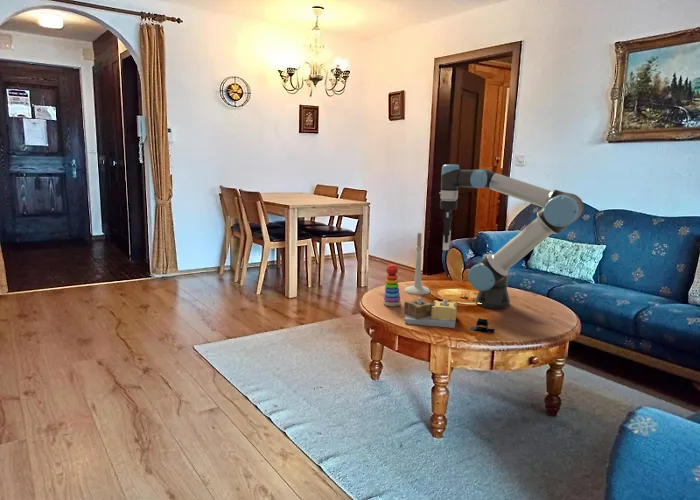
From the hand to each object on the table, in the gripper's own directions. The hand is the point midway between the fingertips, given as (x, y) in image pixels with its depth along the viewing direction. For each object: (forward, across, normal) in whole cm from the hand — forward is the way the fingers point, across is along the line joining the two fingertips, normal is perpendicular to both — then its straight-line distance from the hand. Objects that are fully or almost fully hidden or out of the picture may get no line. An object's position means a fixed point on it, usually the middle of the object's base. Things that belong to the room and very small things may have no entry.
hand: (446, 247), depth 225 cm
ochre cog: (+24, +24, +1) cm, 34 cm away
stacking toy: (+27, +7, -23) cm, 36 cm away
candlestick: (+27, -18, -14) cm, 35 cm away
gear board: (+27, +24, -4) cm, 36 cm away
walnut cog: (+25, +24, -9) cm, 36 cm away
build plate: (+28, +30, +16) cm, 44 cm away
